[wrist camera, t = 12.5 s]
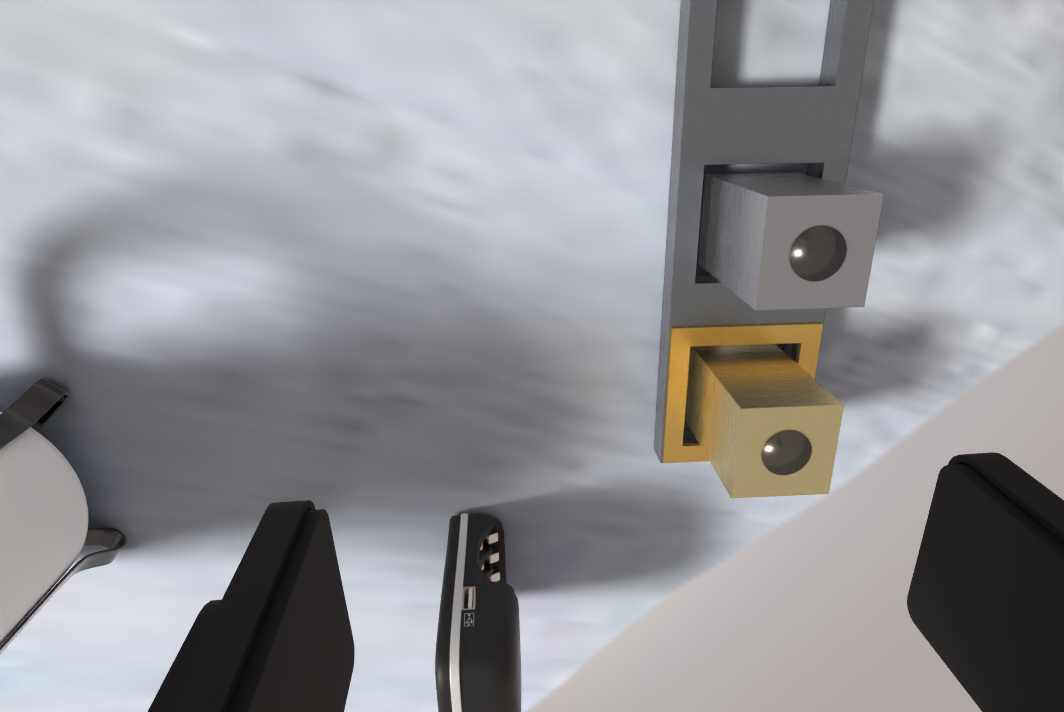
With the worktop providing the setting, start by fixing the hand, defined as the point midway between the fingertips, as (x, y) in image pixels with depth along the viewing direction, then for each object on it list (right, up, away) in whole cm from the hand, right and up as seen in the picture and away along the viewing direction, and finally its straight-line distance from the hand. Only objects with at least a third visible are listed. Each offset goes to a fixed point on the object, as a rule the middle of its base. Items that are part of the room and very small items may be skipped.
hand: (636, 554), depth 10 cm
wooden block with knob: (+9, +2, +26) cm, 28 cm away
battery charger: (-4, -9, +30) cm, 32 cm away
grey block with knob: (+9, +10, +23) cm, 27 cm away
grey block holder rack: (+9, +10, +23) cm, 27 cm away
